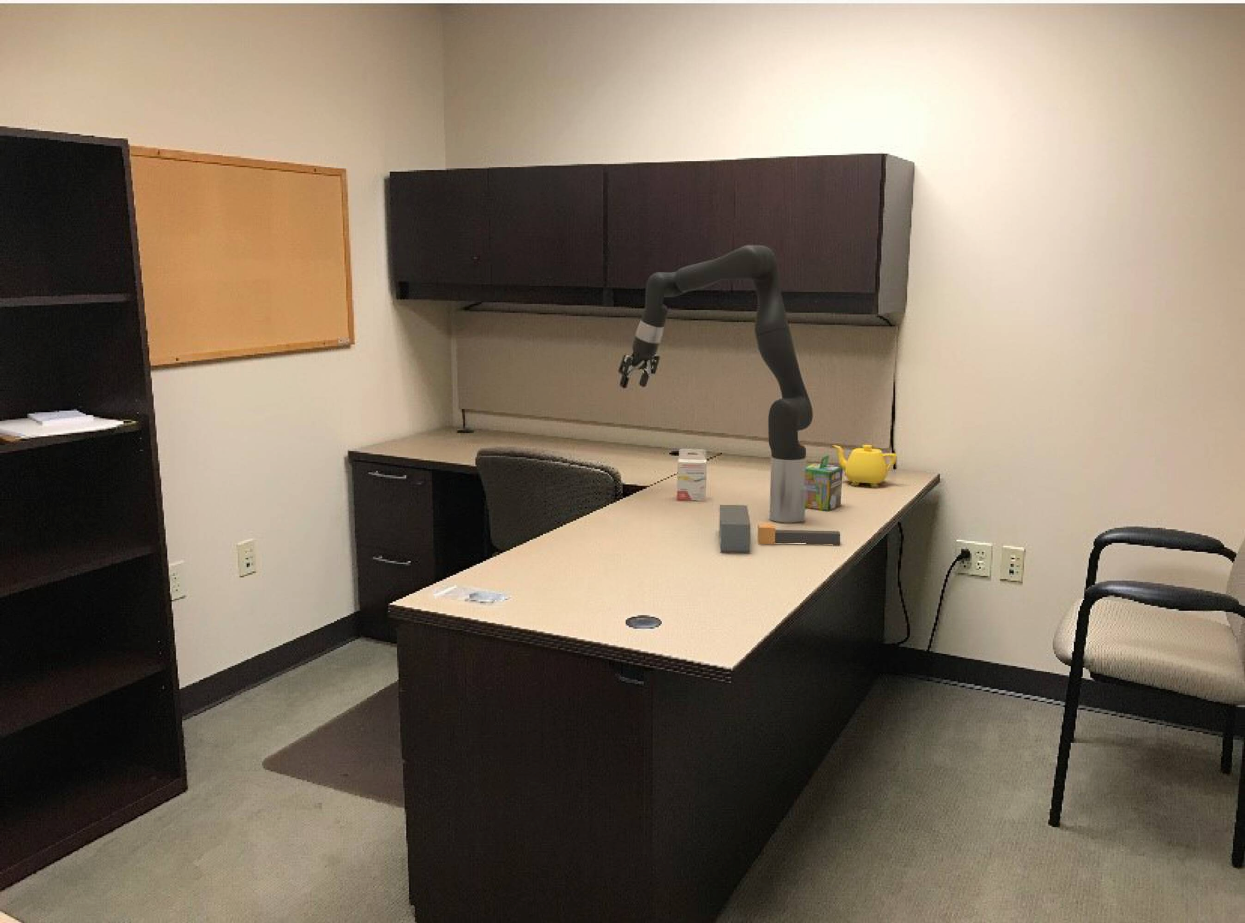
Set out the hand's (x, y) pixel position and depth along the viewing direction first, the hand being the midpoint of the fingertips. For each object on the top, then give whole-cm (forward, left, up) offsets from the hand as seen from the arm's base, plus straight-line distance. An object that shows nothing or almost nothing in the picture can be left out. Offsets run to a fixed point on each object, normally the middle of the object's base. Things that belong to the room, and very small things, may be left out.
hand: (632, 386), depth 308 cm
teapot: (-72, -14, -32) cm, 80 cm away
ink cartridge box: (-18, +12, -32) cm, 39 cm away
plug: (-45, +58, -32) cm, 80 cm away
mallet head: (-29, +58, -32) cm, 72 cm away
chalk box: (-55, +18, -32) cm, 66 cm away
